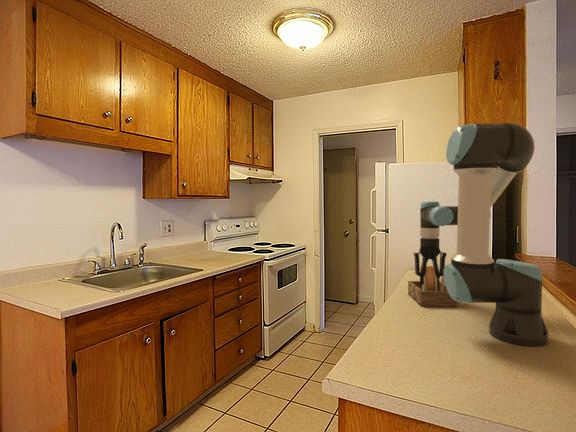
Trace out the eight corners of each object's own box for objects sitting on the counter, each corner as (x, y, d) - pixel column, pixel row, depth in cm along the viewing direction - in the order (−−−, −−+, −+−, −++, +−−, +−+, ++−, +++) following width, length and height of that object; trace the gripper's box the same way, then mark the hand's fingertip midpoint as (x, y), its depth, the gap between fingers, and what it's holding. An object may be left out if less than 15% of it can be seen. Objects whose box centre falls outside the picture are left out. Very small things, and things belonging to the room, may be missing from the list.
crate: (457, 306, 133) (457, 291, 133) (420, 306, 134) (420, 291, 134) (440, 294, 151) (440, 281, 151) (408, 294, 152) (408, 281, 152)
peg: (435, 295, 142) (436, 267, 142) (426, 295, 143) (426, 267, 142) (432, 293, 146) (432, 265, 146) (423, 293, 147) (423, 265, 146)
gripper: (446, 236, 147) (446, 289, 147) (406, 236, 148) (406, 289, 149) (454, 238, 139) (453, 294, 140) (411, 238, 140) (411, 294, 141)
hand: (429, 291), depth 144 cm, fingers closed on peg, 4 cm apart
